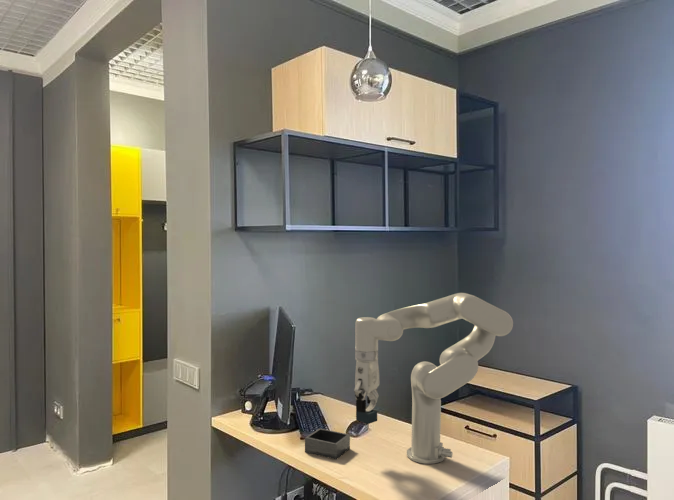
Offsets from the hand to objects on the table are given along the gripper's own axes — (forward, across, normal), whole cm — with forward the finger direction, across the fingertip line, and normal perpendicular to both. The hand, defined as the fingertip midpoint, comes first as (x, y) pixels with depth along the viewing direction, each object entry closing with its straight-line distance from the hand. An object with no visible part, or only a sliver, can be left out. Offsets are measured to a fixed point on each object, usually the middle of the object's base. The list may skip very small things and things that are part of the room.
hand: (366, 407), depth 170 cm
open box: (+17, 0, +14) cm, 22 cm away
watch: (+4, 0, 0) cm, 4 cm away
